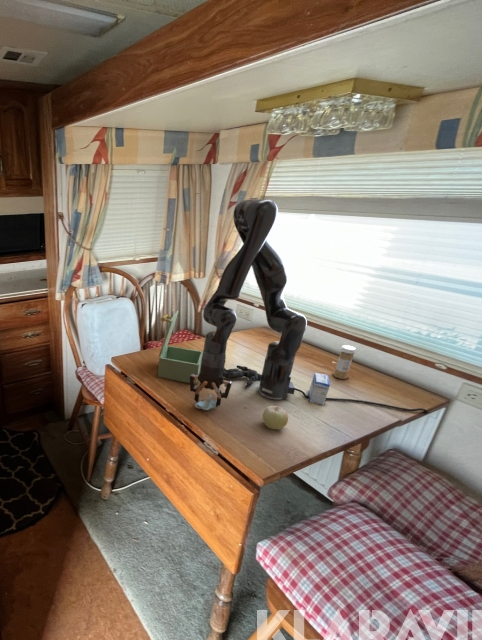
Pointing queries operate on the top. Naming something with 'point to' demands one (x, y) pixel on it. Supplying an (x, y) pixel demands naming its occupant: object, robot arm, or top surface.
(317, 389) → the medicine box
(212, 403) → the pacifier
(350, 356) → the sprinkles bottle
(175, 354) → the chest
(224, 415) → the top surface
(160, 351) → the lid
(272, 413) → the fruit
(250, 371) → the robot figurine
